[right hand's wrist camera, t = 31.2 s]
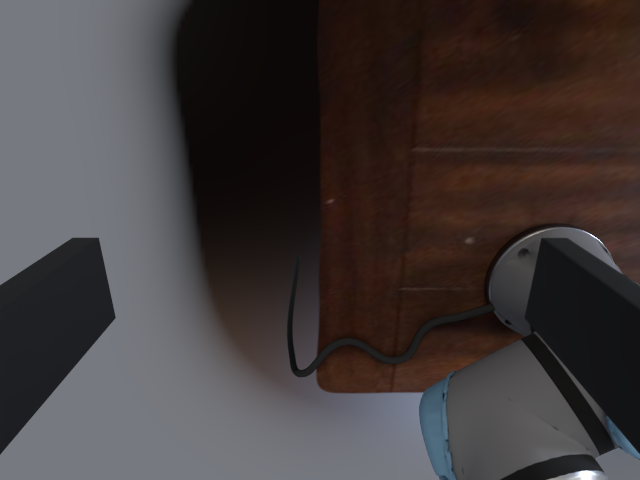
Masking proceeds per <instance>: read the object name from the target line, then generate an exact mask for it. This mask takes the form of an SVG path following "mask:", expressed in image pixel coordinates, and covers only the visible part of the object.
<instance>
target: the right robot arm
mask: <svg viewBox="0 0 640 480" xmlns="http://www.w3.org/2000/svg"><path fill="white" fill-rule="evenodd" d="M299 265H300V256H299V255H297V256H296V264H295V271H294V277H293V284H292V289H291V296H290V302H289V310H288V321H287V343H288V352H289V359H290V367H291V370H292V372H293V373H294V374H295V375H296V376H298V377H306V376H308V375H310V374H311V373H312V372H314V370H315V369H316V368H317V367H318V366H319V365H320V363H321V362H322V361H323V360H324V358H325V357H326V356H327V355H328V354H329V353H330V352H331V351H332V350H334V349H335V348H337V347H339V346H343V345H354V346H357V347H359V348H361V349H363V350H365V351H366V352H368V353H369V354H370V355H372V356H373V357H375V358H376V359H378V360H380V361H382V362H385V363H388V364H397V363H402V362H404V361H406V360H408V359H409V358H410V357H411V356H412V355H413V354H414V352H415V351H416V349H417V347H418V345H419V343H420V341H421V339H422V337H423V336H424V334H425V333H426V332H427V331H428V330H430V329H431V328H433V327H435V326H437V325H440V324H444V323H449V322H455V321H460V320H464V319H467V318H471V317H475V316H478V315H481V314H485V313H488V312H492V311H494V313H495V314H496V315H497V317H498V318H499V319H500V320H501V321H502V322H503V323H504V324H505V325H506V326H508V327H509V328H511V329H512V330H514V331H516V332H518V333H519V334H521V335H523V336H525V337H524V338H522V339H519V340H517V341H515V342H514V343H512V344H510V345H508V346H506V347H504V348H502V349H500V350H498V351H496V352H494V353H492V354H490V355H488V356H486V357H484V358H482V359H480V360H478V361H476V362H474V363H472V364H470V365H468V366H466V367H464V368H462V369H460V370H458V371H453V372H451V373H450V374H448V376H447V377H446V378H445V379H443V380H441V381H440V382H438V383H436V384H434V385H433V386H431V387H429V388H428V389H427V390H426V391H425V392H424V393H423V396H422V398H421V402H420V406H419V416H420V424H421V430H422V434H423V438H424V442H425V446H426V449H427V452H428V455H429V458H430V461H431V464H432V466H433V469H434V471H435V473H436V475H438V476H439V478H440V480H608V477H607V476H606V474H605V473H604V471H603V470H602V469H601V467H600V466H599V464H598V463H597V461H596V460H595V458H596V457H597V456H600V455H602V454H604V453H607V452H609V451H611V450H613V449H616V448H618V447H619V448H620V449H622V450H624V451H625V452H626V453H628V454H630V455H632V456H633V457H635V458H637V459H639V460H640V285H639V284H637V283H636V282H634V281H633V280H631V279H629V278H628V277H626V276H625V275H623V274H622V272H621V271H620V269H619V268H618V267H617V266H616V265H615V264H614V261H613V258H612V256H611V254H610V253H609V251H608V250H607V248H606V247H605V246H604V245H603V244H602V242H601V241H600V240H598V239H597V238H596V237H594V236H593V235H591V234H590V233H588V232H586V231H584V230H582V229H580V228H578V227H575V226H572V225H567V224H546V225H541V226H537V227H534V228H531V229H529V230H526V231H524V232H522V233H520V234H519V235H517V236H515V237H514V238H513V239H511V240H510V241H509V242H508V243H506V244H505V245H504V246H503V247H502V248H501V249H500V251H499V252H498V253H497V254H496V256H495V257H494V259H493V261H492V262H491V264H490V267H489V269H488V272H487V276H486V282H485V291H486V297H487V300H488V303H489V304H488V305H485V306H481V307H478V308H475V309H471V310H468V311H464V312H461V313H457V314H452V315H446V316H441V317H437V318H434V319H432V320H430V321H428V322H426V323H425V324H424V325H423V326H422V327H421V328H420V329H419V330H418V332H417V333H416V335H415V337H414V339H413V341H412V343H411V345H410V347H409V349H408V350H407V351H406V352H405V353H404V354H402V355H400V356H395V357H389V356H385V355H383V354H381V353H380V352H378V351H377V350H375V349H374V348H372V347H371V346H369V345H368V344H366V343H365V342H363V341H361V340H358V339H355V338H341V339H338V340H335V341H333V342H332V343H330V344H329V345H327V346H326V347H325V348H324V349H323V350H322V351H321V352H320V354H319V355H318V356H317V357H316V359H315V360H314V361H313V362H312V364H311V365H310V366H309V367H308V368H306V369H304V370H299V369H298V367H297V364H296V357H295V351H294V345H293V312H294V302H295V295H296V288H297V281H298V274H299ZM114 319H115V313H114V308H113V304H112V299H111V294H110V289H109V284H108V280H107V275H106V270H105V266H104V261H103V256H102V251H101V247H100V242H99V238H72V239H70V240H69V241H67V242H66V243H64V244H63V245H61V246H60V247H58V248H57V249H55V250H53V251H52V252H50V253H49V254H47V255H46V256H44V257H43V258H41V259H40V260H38V261H37V262H35V263H34V264H32V265H31V266H29V267H28V268H26V269H25V270H23V271H21V272H20V273H18V274H17V275H15V276H14V277H12V278H11V279H9V280H8V281H6V282H5V283H3V284H2V285H0V454H1V453H2V452H3V450H4V449H5V448H6V447H7V446H8V445H9V443H10V442H11V441H12V440H13V439H14V437H15V436H16V435H17V434H18V433H19V431H20V430H21V429H22V428H23V427H24V426H25V424H26V423H27V422H28V421H29V420H30V419H31V417H32V416H33V415H34V414H35V413H36V411H37V410H38V409H39V408H40V407H41V405H42V404H43V403H44V402H45V401H46V400H47V398H48V397H49V396H50V395H51V394H52V392H53V391H54V390H55V389H56V388H57V387H58V385H59V384H60V383H61V382H62V381H63V379H64V378H65V377H66V376H67V375H68V374H69V372H70V371H71V370H72V369H73V368H74V366H75V365H76V364H77V363H78V362H79V361H80V359H81V358H82V357H83V356H84V355H85V353H86V352H87V351H88V350H89V349H90V348H91V346H92V345H93V344H94V343H95V342H96V340H97V339H98V338H99V337H100V336H101V335H102V333H103V332H104V331H105V330H106V329H107V327H108V326H109V325H110V324H111V323H112V321H113V320H114Z"/></svg>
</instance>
